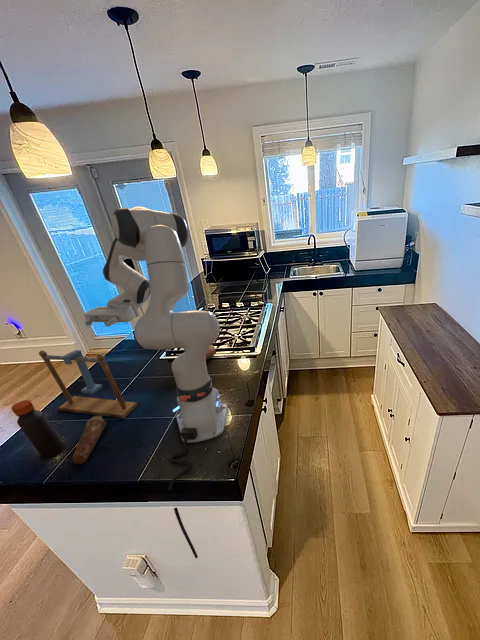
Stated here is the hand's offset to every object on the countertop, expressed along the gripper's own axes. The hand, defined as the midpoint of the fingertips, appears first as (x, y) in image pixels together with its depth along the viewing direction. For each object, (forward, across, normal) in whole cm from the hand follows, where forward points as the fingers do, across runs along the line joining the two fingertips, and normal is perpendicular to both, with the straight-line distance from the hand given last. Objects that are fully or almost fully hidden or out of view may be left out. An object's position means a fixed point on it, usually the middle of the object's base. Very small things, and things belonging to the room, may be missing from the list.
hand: (96, 324), depth 120 cm
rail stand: (+17, -1, +28) cm, 33 cm away
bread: (+36, +13, +27) cm, 46 cm away
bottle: (+41, +1, +26) cm, 48 cm away
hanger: (+16, -1, +20) cm, 26 cm away
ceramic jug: (-26, +22, +32) cm, 47 cm away
